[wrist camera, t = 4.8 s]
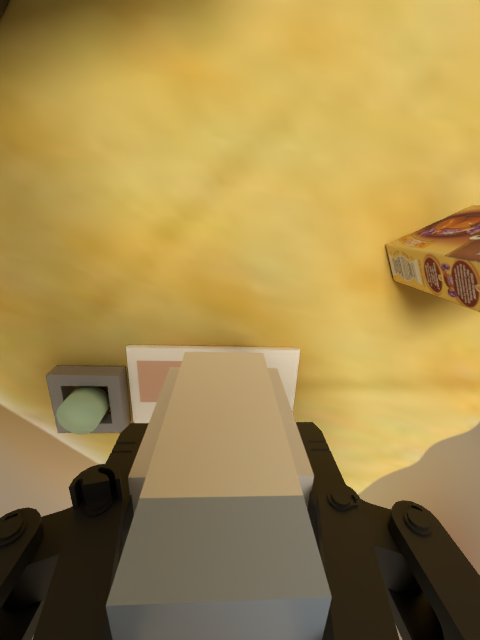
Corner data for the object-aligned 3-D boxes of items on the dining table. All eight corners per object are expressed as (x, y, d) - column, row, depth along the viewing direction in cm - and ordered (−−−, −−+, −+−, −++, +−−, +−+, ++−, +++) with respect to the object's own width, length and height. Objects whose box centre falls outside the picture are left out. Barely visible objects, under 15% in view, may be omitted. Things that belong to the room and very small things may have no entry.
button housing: (57, 365, 30) (45, 375, 28) (125, 366, 30) (118, 375, 28) (68, 420, 32) (58, 432, 30) (131, 420, 32) (125, 432, 30)
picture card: (127, 344, 29) (125, 347, 28) (298, 347, 30) (300, 350, 29) (139, 464, 34) (138, 469, 34) (285, 463, 35) (286, 467, 35)
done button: (67, 384, 29) (52, 399, 26) (107, 384, 29) (96, 399, 27) (73, 417, 30) (60, 434, 28) (111, 417, 30) (101, 434, 28)
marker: (184, 351, 14) (105, 606, 5) (263, 352, 14) (332, 596, 5) (187, 416, 16) (127, 715, 6) (258, 416, 16) (306, 704, 6)
